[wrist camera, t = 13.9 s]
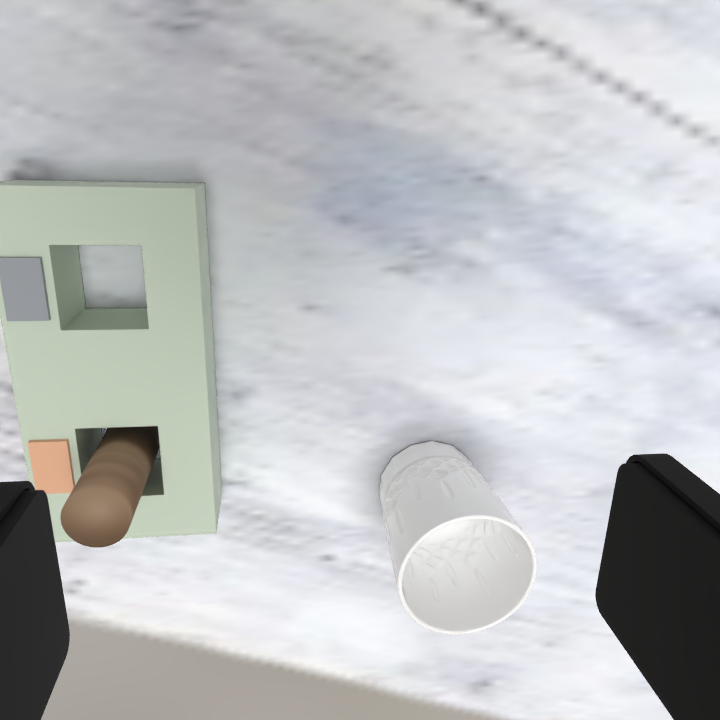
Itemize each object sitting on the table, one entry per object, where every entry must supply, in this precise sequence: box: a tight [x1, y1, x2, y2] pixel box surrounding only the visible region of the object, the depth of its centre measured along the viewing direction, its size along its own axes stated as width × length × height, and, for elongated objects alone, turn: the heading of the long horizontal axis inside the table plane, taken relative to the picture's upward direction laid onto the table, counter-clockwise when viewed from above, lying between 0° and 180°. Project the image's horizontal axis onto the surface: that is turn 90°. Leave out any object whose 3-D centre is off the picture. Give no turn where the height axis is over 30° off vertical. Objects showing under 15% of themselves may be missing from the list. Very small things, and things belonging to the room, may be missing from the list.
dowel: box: [60, 426, 160, 547], centre depth 34 cm, size 3×3×10 cm
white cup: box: [379, 441, 537, 635], centre depth 38 cm, size 8×8×10 cm
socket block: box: [0, 180, 222, 542], centre depth 35 cm, size 20×10×5 cm, turn 179°
